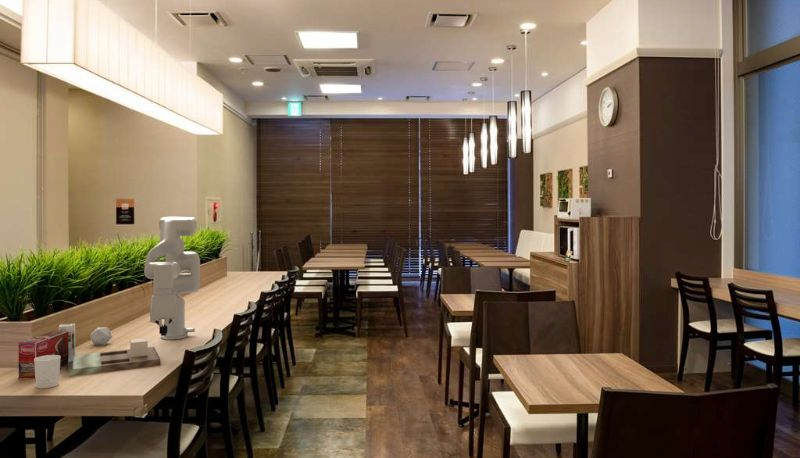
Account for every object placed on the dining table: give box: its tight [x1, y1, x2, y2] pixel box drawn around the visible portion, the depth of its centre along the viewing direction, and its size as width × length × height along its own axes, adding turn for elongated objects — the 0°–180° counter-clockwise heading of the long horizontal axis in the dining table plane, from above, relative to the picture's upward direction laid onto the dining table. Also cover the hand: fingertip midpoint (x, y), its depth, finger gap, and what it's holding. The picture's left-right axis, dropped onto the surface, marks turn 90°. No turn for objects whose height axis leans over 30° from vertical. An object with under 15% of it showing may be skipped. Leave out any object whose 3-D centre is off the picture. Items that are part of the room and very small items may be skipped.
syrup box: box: [58, 323, 76, 355], centre depth 227 cm, size 6×6×14 cm
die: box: [89, 326, 113, 346], centre depth 253 cm, size 8×9×10 cm
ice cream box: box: [17, 330, 69, 380], centre depth 210 cm, size 20×6×13 cm, turn 1°
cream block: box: [129, 337, 149, 357], centre depth 226 cm, size 6×6×6 cm
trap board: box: [67, 346, 161, 377], centre depth 221 cm, size 32×23×6 cm
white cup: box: [34, 355, 61, 389], centre depth 192 cm, size 8×8×10 cm
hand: (163, 335), depth 230 cm, fingers closed
